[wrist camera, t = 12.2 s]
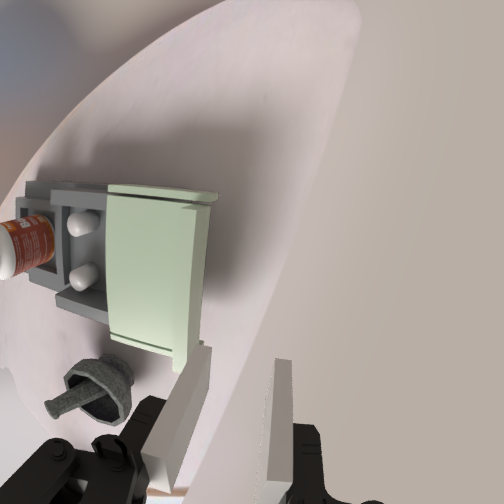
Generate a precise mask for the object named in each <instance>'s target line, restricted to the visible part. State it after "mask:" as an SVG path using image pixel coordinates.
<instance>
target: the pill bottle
mask: <svg viewBox="0 0 504 504" xmlns="http://www.w3.org/2000/svg"><path fill="white" fill-rule="evenodd" d="M55 251H56V248H55V230H54V227H53V225H52V223H51V221H50V220H49V219H48V218H47V217H46V216H44V215H42V214H37V215H32V216H27V217H23V218H19V219H15V220H11V221H7V222H3V223H0V279H1V280H7V279H9V278H12V277H14V276H16V275H18V274H20V273H22V272H24V271H27V270H29V269H31V268H33V267H36V266H38V265H40V264H43V263H45V262H47V261H49V260H50V259H51V258H52V257H53V255H54V254H55Z"/></svg>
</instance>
